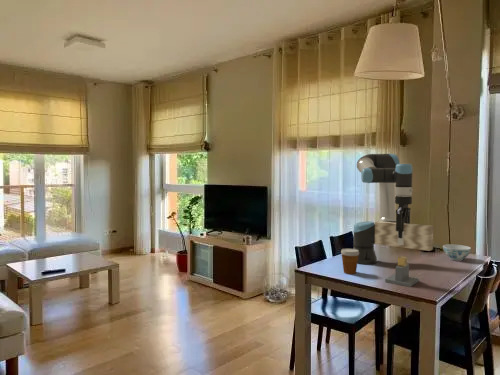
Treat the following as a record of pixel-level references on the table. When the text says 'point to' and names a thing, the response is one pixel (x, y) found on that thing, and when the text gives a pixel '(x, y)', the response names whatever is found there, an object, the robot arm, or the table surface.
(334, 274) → the table surface
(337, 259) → the table surface
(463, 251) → the chinaware
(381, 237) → the birch beam
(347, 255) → the disposable coffee cup
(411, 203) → the robot arm
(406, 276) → the stand
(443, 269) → the table surface
